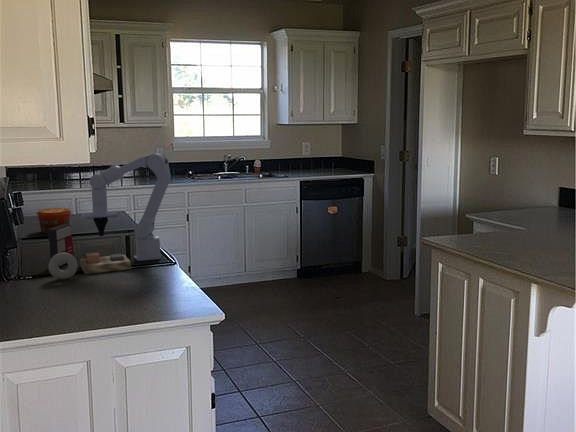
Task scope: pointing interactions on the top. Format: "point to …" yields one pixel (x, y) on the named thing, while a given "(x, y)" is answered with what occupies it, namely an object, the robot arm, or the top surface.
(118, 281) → the top surface
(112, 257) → the gray cube
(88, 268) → the tan flat rectangular block
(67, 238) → the grey and red box
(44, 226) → the food container
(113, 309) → the top surface
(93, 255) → the brown cube
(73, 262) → the donut
